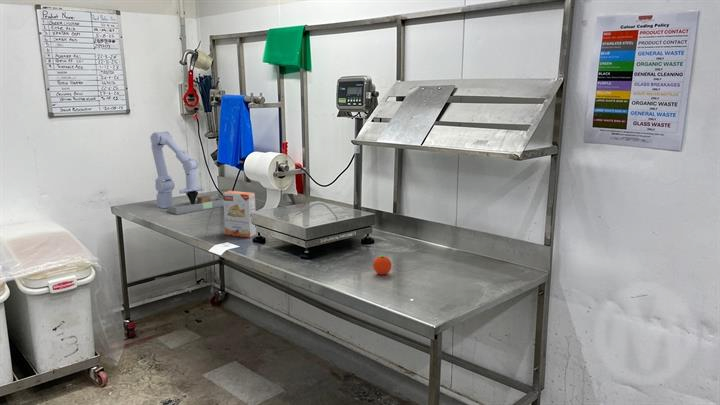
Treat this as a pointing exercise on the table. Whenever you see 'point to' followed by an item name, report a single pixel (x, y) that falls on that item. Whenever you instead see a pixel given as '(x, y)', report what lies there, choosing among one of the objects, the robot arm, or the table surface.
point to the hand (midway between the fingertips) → (192, 204)
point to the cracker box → (239, 213)
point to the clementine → (382, 265)
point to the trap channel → (195, 206)
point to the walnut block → (203, 199)
